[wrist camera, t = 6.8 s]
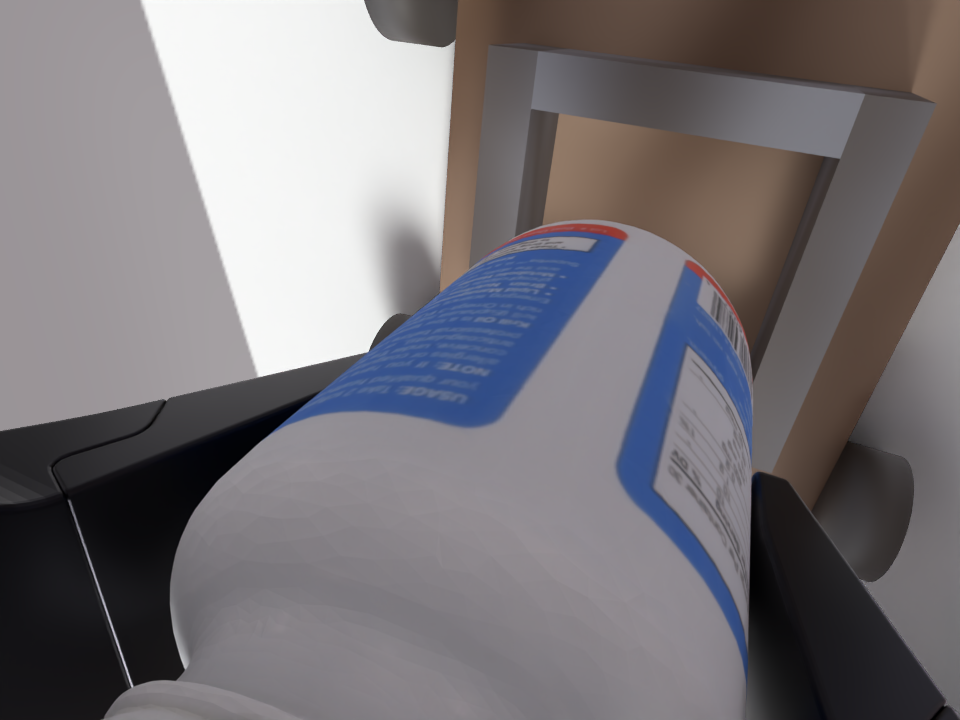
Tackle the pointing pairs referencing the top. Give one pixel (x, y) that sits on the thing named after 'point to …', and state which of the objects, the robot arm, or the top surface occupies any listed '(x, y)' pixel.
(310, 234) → the top surface
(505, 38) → the chassis
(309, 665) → the pill bottle
